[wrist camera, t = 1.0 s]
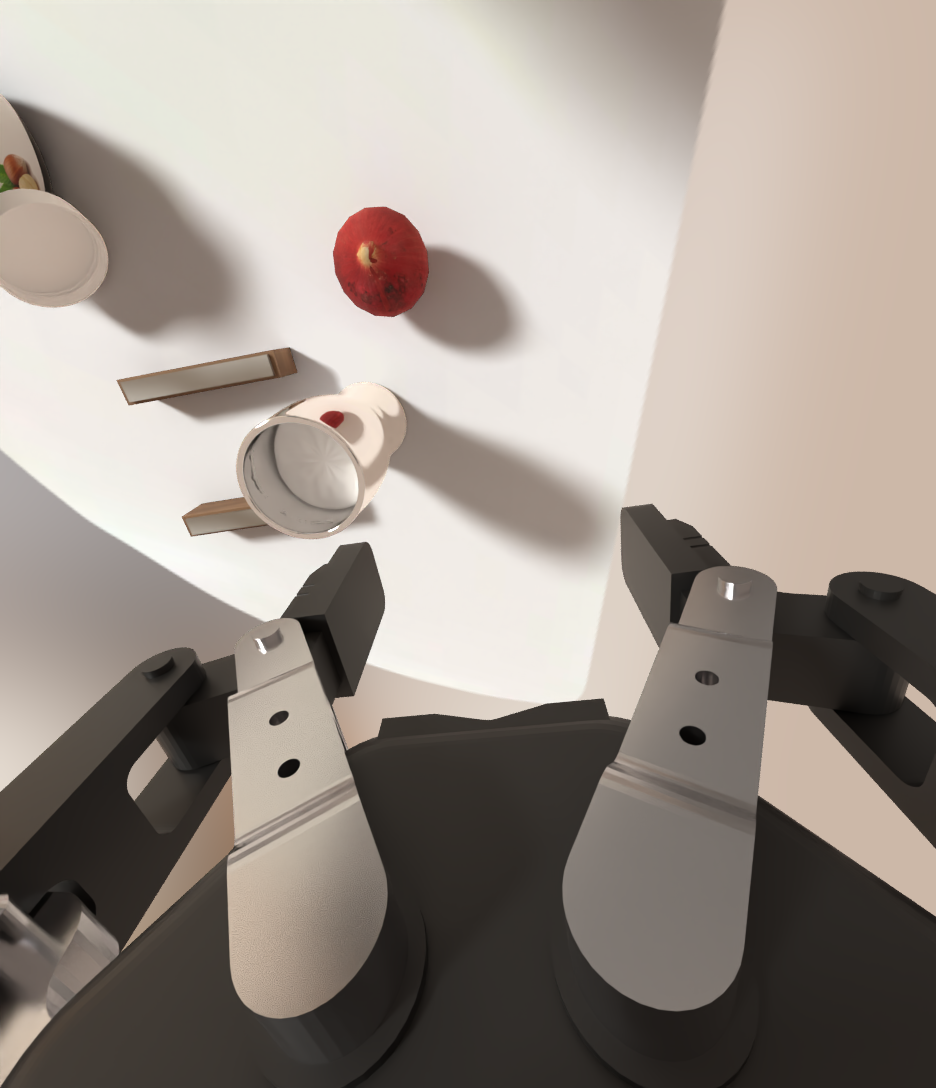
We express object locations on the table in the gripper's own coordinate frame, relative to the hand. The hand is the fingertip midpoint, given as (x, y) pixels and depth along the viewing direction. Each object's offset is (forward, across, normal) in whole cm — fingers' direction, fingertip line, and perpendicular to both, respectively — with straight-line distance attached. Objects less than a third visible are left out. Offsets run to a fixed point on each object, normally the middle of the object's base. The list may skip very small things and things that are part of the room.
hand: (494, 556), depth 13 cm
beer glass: (+26, +10, 0) cm, 28 cm away
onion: (+26, +6, -10) cm, 28 cm away
